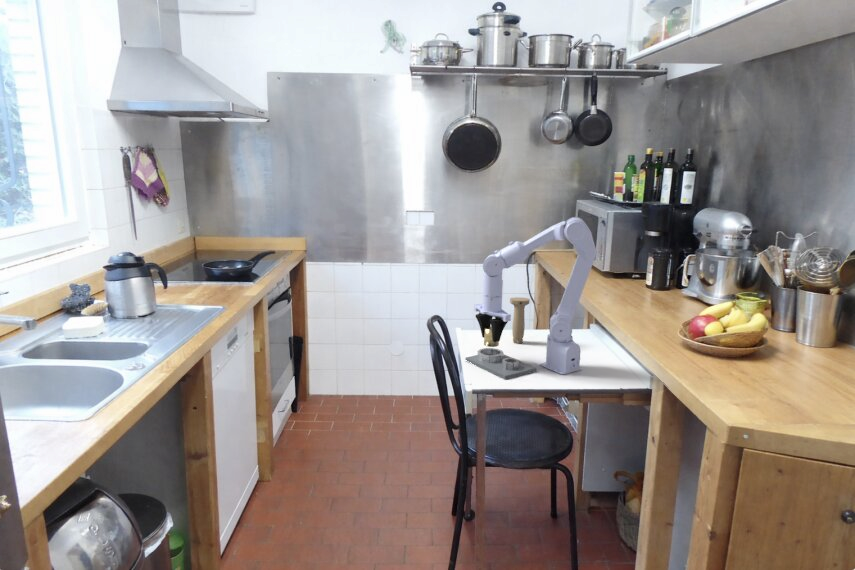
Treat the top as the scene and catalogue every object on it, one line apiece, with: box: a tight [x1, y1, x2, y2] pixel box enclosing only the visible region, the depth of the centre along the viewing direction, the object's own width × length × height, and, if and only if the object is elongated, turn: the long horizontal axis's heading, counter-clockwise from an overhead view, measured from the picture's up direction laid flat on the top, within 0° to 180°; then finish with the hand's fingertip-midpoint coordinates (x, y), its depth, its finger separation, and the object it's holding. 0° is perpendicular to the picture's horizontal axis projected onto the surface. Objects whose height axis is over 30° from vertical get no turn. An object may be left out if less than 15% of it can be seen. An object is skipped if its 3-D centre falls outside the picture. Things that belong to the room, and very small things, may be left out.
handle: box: [509, 296, 531, 344], centre depth 189 cm, size 5×6×15 cm
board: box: [465, 354, 537, 380], centre depth 168 cm, size 18×12×1 cm, turn 34°
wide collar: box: [476, 347, 505, 363], centre depth 172 cm, size 8×8×2 cm
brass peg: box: [483, 326, 500, 348], centre depth 171 cm, size 4×4×5 cm
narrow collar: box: [502, 357, 520, 370], centre depth 164 cm, size 5×5×2 cm
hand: (490, 339), depth 171 cm, fingers closed on brass peg, 4 cm apart
